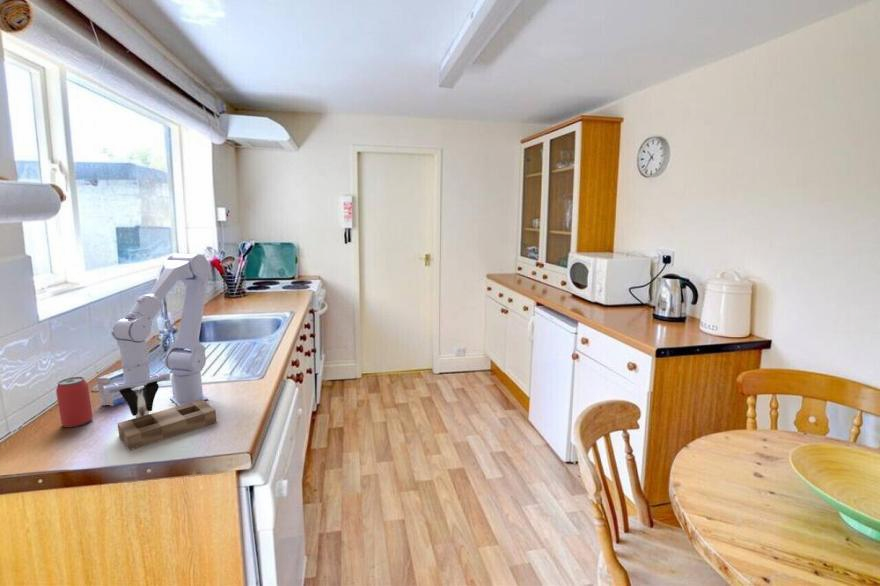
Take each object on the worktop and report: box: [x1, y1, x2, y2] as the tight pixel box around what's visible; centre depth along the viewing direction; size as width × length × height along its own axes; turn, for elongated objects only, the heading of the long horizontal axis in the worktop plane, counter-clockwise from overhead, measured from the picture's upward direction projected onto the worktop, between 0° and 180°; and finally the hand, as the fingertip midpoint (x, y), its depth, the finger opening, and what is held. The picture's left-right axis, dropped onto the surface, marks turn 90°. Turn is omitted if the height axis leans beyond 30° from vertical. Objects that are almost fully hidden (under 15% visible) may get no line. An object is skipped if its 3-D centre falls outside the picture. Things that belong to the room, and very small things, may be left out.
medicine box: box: [96, 368, 134, 407], centre depth 134 cm, size 8×4×9 cm, turn 168°
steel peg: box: [132, 386, 150, 418], centre depth 119 cm, size 3×3×10 cm
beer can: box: [55, 376, 94, 428], centre depth 120 cm, size 7×7×12 cm
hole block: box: [116, 400, 217, 451], centre depth 117 cm, size 10×20×4 cm, turn 136°
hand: (141, 412), depth 120 cm, fingers closed on steel peg, 3 cm apart
